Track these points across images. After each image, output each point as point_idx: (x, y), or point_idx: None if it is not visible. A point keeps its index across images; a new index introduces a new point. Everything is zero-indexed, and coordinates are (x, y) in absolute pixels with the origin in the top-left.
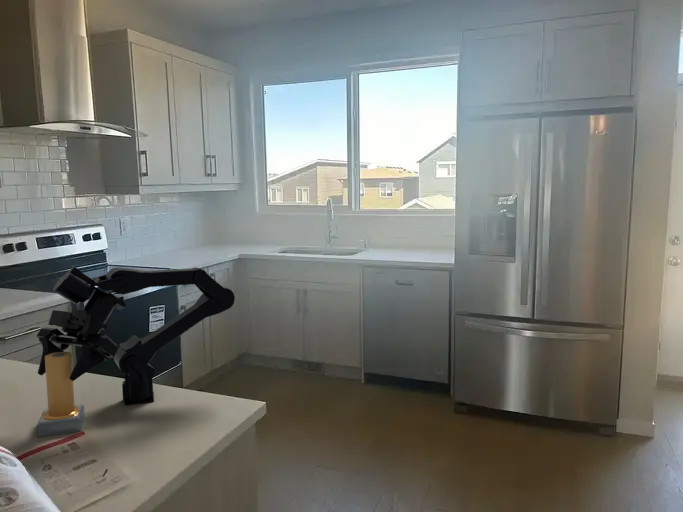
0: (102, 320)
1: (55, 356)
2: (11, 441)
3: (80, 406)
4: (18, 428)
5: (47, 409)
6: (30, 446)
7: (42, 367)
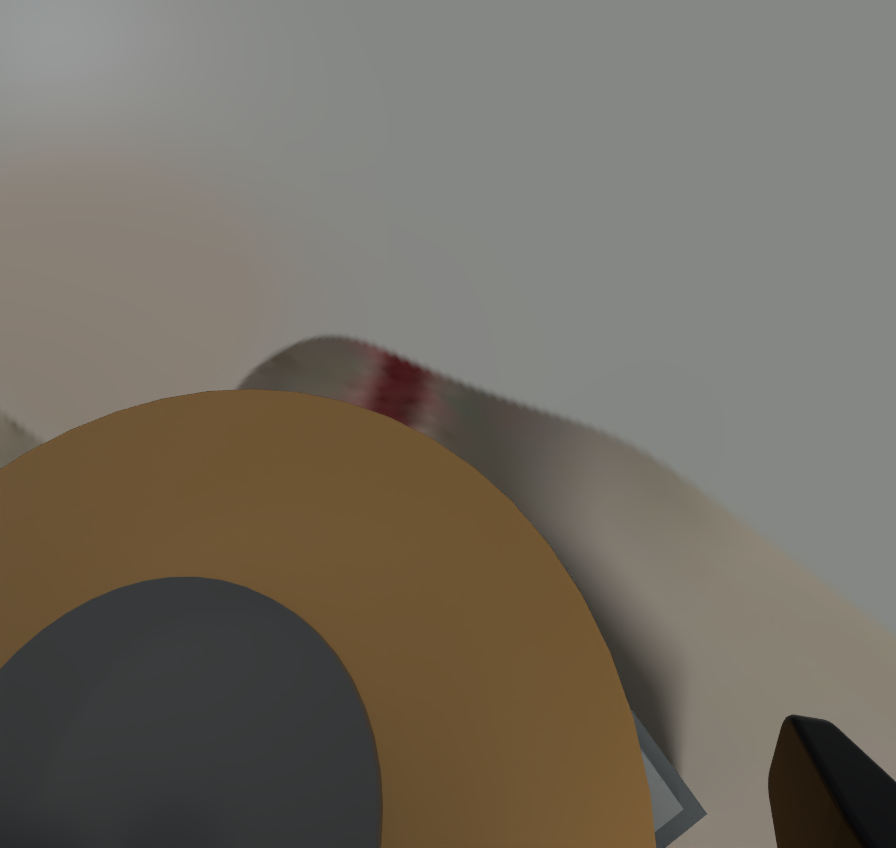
0: None
1: (125, 582)
2: (629, 474)
3: None
4: (785, 652)
5: (651, 802)
6: (456, 452)
7: (834, 827)
